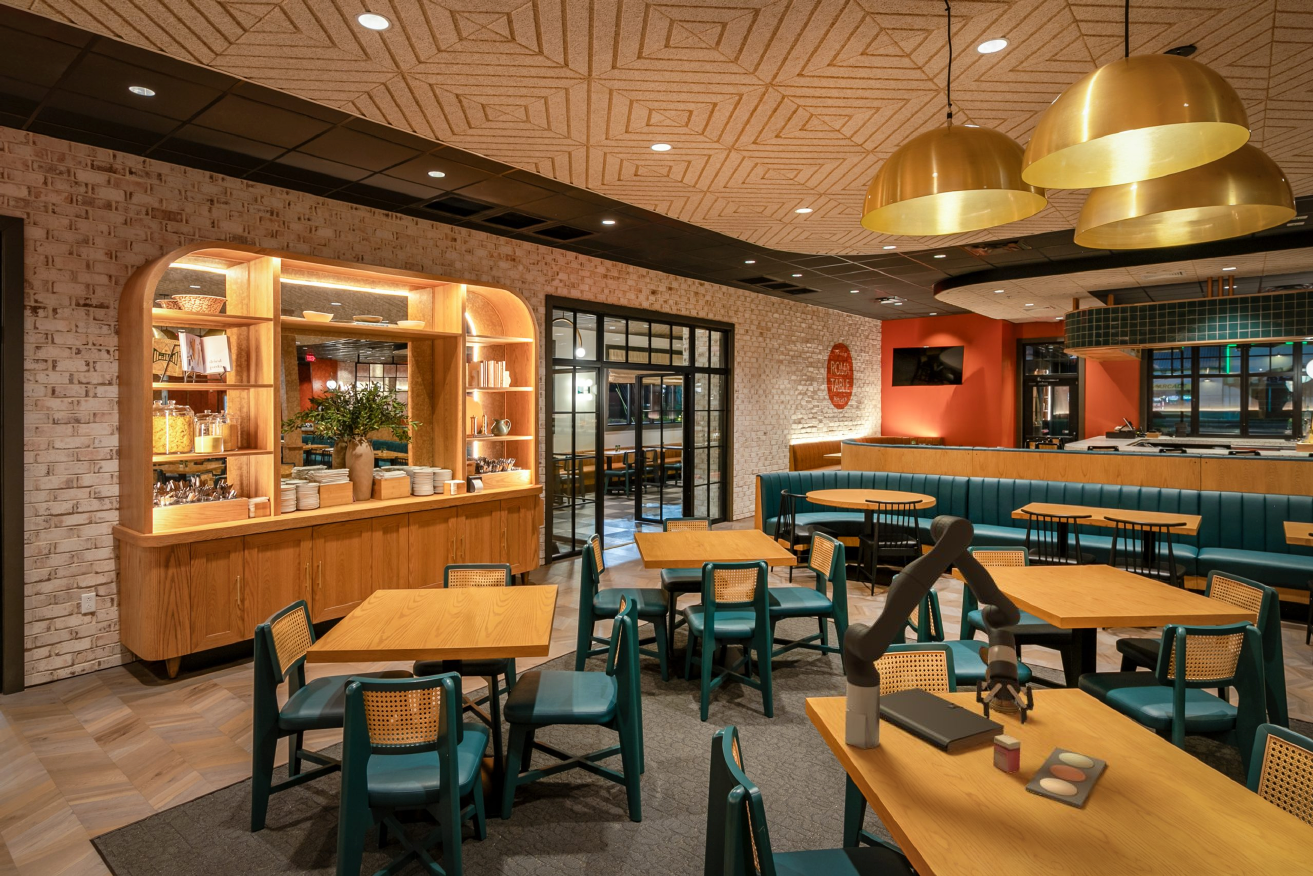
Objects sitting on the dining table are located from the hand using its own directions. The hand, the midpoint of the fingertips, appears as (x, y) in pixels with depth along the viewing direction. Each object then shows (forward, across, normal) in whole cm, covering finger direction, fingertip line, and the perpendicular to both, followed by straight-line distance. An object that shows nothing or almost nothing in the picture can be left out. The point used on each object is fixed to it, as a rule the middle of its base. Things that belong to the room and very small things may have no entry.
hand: (1005, 720), depth 190 cm
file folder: (-4, -19, +20) cm, 28 cm away
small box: (+12, 0, +4) cm, 12 cm away
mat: (+11, +14, +4) cm, 18 cm away
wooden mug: (-20, +1, +36) cm, 41 cm away
